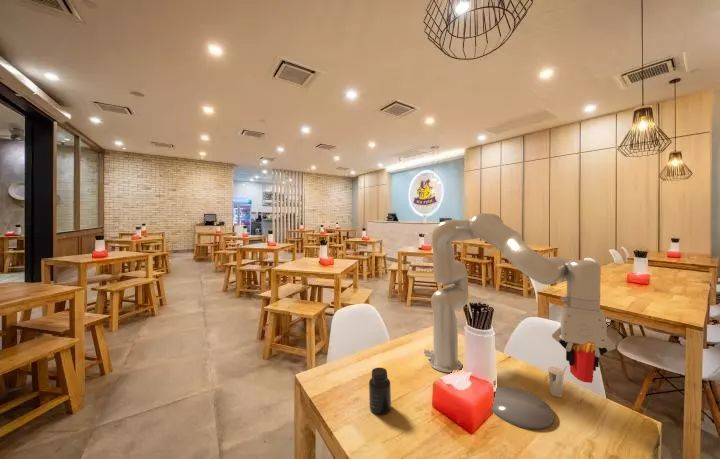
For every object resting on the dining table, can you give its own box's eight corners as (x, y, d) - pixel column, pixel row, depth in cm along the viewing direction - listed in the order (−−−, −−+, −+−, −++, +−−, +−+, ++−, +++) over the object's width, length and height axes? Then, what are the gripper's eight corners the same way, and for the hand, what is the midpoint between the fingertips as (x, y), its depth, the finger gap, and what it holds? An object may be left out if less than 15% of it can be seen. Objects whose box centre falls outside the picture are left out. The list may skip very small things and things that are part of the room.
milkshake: (570, 399, 92) (570, 369, 91) (551, 397, 93) (552, 368, 93) (562, 391, 96) (563, 362, 96) (545, 389, 97) (545, 361, 97)
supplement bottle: (379, 398, 93) (378, 363, 93) (395, 408, 88) (395, 370, 88) (364, 408, 88) (364, 371, 88) (381, 419, 83) (380, 379, 83)
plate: (483, 414, 85) (483, 409, 85) (491, 385, 100) (491, 381, 100) (555, 438, 75) (555, 433, 75) (552, 402, 90) (552, 398, 90)
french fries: (566, 368, 85) (567, 329, 85) (580, 370, 84) (582, 330, 84) (582, 384, 77) (584, 341, 76) (599, 386, 76) (600, 342, 76)
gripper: (547, 302, 81) (546, 363, 82) (626, 312, 72) (624, 381, 73) (547, 296, 88) (546, 353, 88) (619, 304, 79) (617, 368, 79)
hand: (581, 365), depth 80 cm, fingers closed on french fries, 4 cm apart
